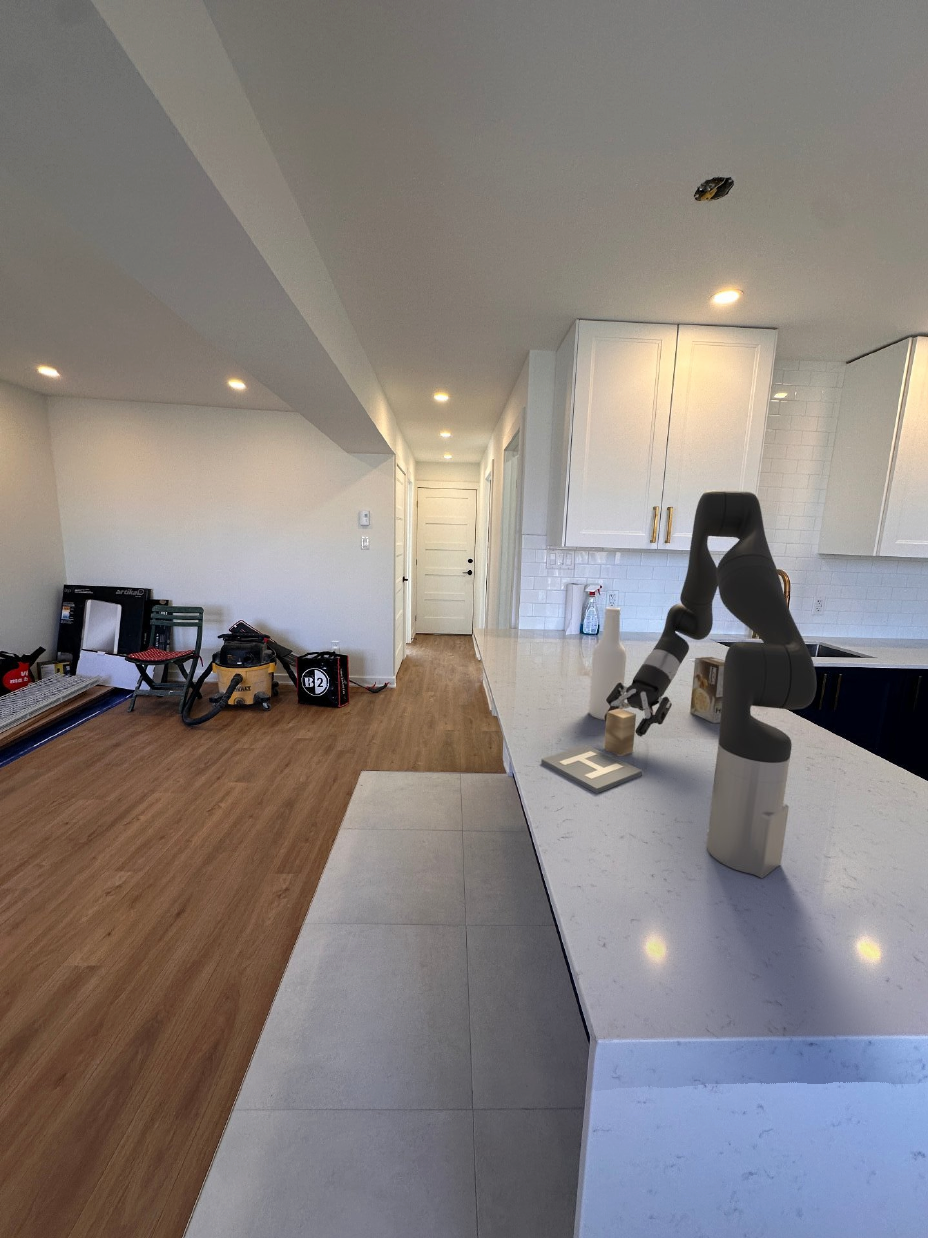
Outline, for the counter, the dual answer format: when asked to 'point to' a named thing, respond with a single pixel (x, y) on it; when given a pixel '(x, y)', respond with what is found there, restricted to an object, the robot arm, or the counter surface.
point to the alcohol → (607, 664)
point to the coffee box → (707, 688)
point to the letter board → (591, 768)
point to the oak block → (620, 732)
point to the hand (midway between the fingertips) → (622, 728)
